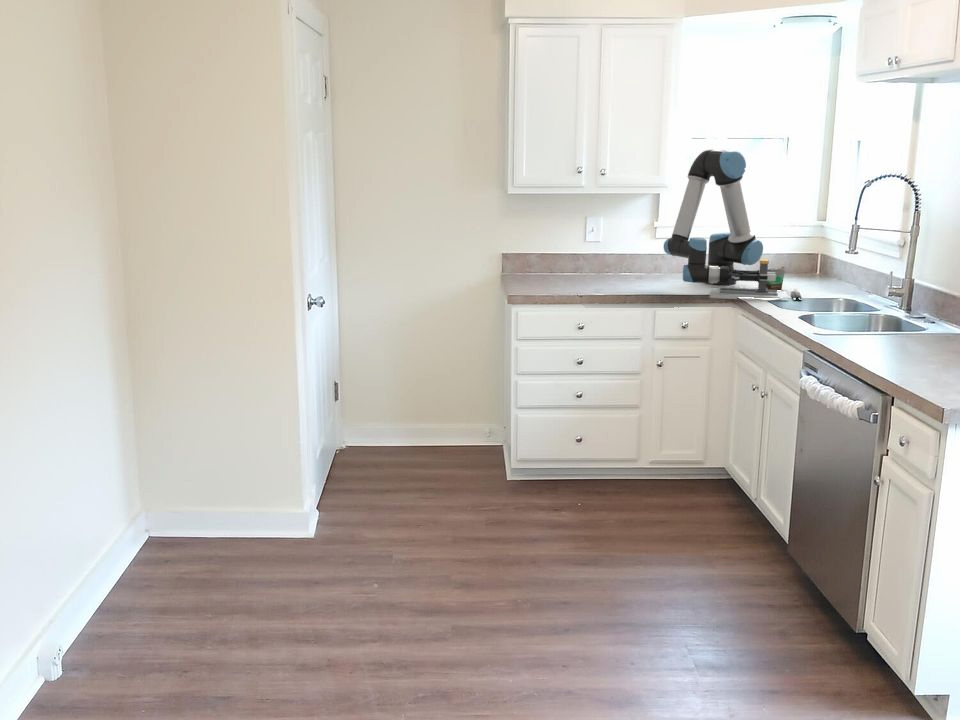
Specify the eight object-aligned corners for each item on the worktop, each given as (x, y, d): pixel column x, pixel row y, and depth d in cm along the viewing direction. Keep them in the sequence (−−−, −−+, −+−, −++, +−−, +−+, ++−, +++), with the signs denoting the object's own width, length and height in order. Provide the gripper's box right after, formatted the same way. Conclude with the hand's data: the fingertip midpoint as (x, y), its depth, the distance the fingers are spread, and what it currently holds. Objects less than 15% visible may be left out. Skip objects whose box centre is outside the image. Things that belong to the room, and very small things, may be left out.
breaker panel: (710, 291, 393) (710, 285, 392) (785, 294, 385) (785, 288, 384) (709, 297, 380) (710, 292, 379) (787, 301, 372) (788, 295, 371)
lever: (755, 291, 384) (757, 258, 380) (767, 291, 382) (770, 259, 378) (755, 293, 379) (758, 260, 375) (767, 293, 378) (770, 261, 374)
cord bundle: (790, 294, 385) (791, 288, 384) (799, 295, 384) (799, 288, 383) (792, 301, 372) (793, 294, 371) (801, 301, 371) (802, 294, 371)
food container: (768, 293, 389) (770, 270, 386) (759, 290, 394) (760, 268, 391) (790, 290, 393) (792, 268, 390) (781, 288, 398) (783, 266, 396)
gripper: (718, 279, 392) (773, 281, 386) (718, 287, 376) (775, 289, 371) (719, 262, 390) (774, 264, 384) (719, 269, 374) (777, 271, 368)
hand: (775, 276), depth 377 cm, fingers closed on lever, 4 cm apart
